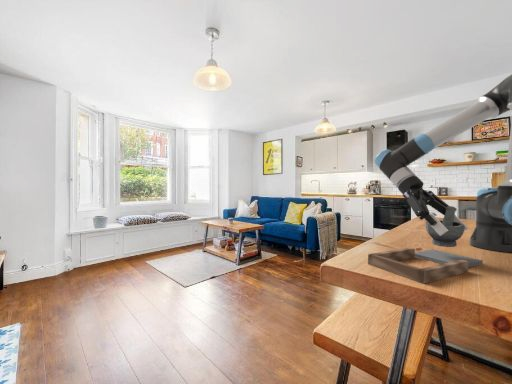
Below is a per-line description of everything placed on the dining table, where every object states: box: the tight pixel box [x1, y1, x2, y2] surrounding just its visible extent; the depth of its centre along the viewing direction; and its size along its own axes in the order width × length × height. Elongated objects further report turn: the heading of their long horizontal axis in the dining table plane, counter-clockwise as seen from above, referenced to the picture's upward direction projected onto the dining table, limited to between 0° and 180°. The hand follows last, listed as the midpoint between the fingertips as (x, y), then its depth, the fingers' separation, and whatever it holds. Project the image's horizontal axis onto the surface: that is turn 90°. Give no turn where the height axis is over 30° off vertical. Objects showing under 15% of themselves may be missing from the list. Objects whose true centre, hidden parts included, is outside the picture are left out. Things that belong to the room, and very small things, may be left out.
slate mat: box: [415, 248, 483, 268], centre depth 78 cm, size 12×14×1 cm
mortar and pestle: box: [425, 205, 465, 248], centre depth 78 cm, size 11×9×12 cm
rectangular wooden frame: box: [367, 247, 469, 285], centre depth 70 cm, size 20×16×3 cm
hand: (454, 231), depth 75 cm, fingers closed on mortar and pestle, 10 cm apart
